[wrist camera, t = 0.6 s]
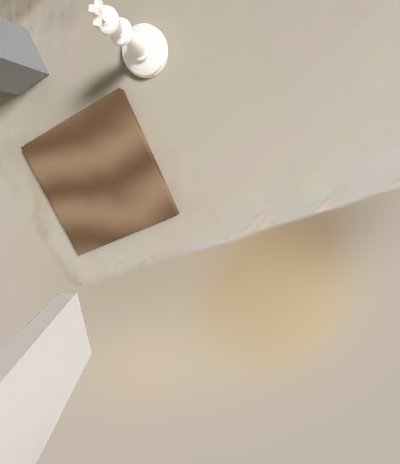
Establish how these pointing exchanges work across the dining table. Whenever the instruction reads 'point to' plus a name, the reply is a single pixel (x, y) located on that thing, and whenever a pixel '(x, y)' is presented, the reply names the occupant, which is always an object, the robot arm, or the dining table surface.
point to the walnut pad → (100, 174)
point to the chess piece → (132, 40)
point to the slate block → (18, 59)
